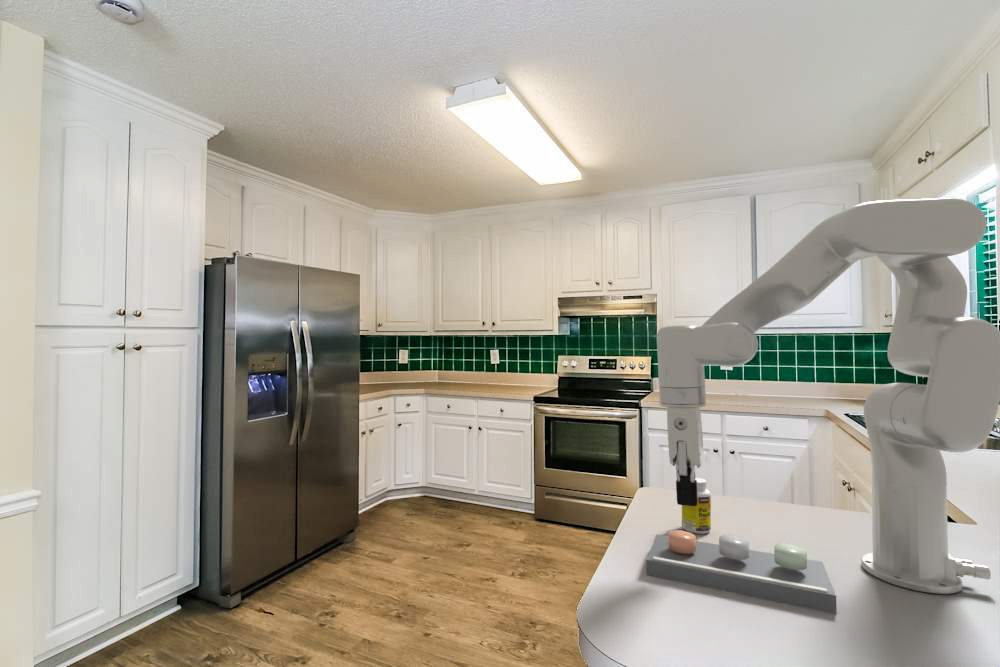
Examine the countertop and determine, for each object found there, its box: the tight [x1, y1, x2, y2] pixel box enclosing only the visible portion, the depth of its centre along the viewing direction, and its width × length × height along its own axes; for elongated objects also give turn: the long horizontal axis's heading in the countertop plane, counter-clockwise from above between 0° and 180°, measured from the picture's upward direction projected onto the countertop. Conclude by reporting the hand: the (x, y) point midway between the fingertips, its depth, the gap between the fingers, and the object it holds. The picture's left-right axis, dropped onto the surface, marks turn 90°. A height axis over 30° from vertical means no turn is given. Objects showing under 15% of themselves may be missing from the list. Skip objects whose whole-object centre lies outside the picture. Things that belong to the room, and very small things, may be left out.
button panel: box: [645, 534, 837, 614], centre depth 79 cm, size 26×12×3 cm, turn 64°
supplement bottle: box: [681, 477, 712, 535], centre depth 99 cm, size 6×6×10 cm
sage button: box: [773, 543, 808, 570], centre depth 76 cm, size 4×4×2 cm
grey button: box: [718, 534, 750, 560], centre depth 79 cm, size 4×4×2 cm
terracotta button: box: [667, 530, 697, 554], centre depth 83 cm, size 4×4×2 cm
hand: (687, 503), depth 83 cm, fingers closed
